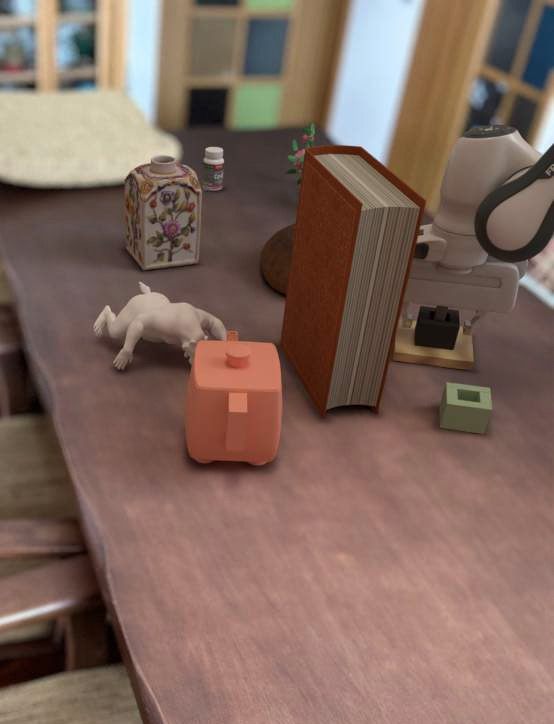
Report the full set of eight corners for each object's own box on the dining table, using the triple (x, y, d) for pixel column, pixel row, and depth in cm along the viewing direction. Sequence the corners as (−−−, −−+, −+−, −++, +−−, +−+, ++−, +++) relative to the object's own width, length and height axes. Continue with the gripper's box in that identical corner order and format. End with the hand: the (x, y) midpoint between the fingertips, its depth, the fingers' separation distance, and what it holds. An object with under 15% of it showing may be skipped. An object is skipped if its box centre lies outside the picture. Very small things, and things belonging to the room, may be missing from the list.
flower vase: (320, 263, 177) (274, 175, 197) (375, 244, 176) (324, 157, 196) (315, 217, 167) (268, 129, 187) (374, 196, 166) (320, 110, 186)
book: (377, 414, 118) (426, 200, 98) (322, 419, 117) (361, 203, 97) (325, 339, 135) (358, 144, 115) (277, 343, 134) (302, 146, 114)
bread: (337, 236, 168) (345, 192, 163) (440, 284, 151) (452, 237, 146) (227, 266, 157) (230, 220, 151) (324, 322, 140) (333, 272, 134)
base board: (468, 335, 137) (482, 286, 131) (471, 370, 128) (486, 319, 122) (394, 326, 139) (405, 278, 133) (392, 360, 130) (404, 310, 124)
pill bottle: (215, 192, 188) (218, 153, 182) (198, 188, 190) (200, 150, 184) (226, 187, 191) (228, 148, 185) (208, 183, 193) (210, 145, 187)
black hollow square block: (452, 333, 134) (458, 310, 131) (453, 350, 130) (460, 327, 127) (414, 328, 135) (420, 305, 132) (414, 345, 131) (420, 322, 128)
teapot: (185, 397, 121) (189, 306, 112) (271, 400, 121) (283, 310, 111) (181, 487, 104) (185, 390, 95) (281, 492, 104) (295, 395, 95)
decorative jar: (179, 242, 165) (183, 146, 154) (200, 264, 157) (205, 165, 145) (122, 248, 163) (121, 152, 151) (141, 272, 154) (141, 171, 142)
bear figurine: (83, 378, 132) (173, 388, 118) (71, 291, 127) (163, 292, 113) (158, 355, 142) (248, 362, 129) (149, 274, 137) (242, 273, 123)
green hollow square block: (482, 411, 119) (489, 387, 116) (484, 434, 114) (492, 409, 112) (439, 405, 120) (446, 381, 117) (439, 427, 116) (446, 403, 113)
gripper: (530, 243, 123) (503, 329, 132) (390, 229, 126) (373, 313, 135) (534, 260, 118) (505, 347, 127) (389, 245, 122) (371, 331, 131)
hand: (436, 330), depth 131 cm, fingers open, 8 cm apart
